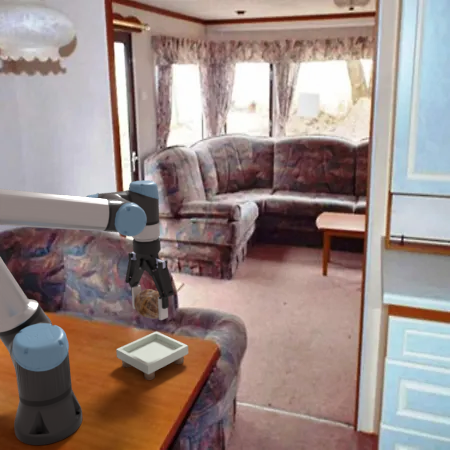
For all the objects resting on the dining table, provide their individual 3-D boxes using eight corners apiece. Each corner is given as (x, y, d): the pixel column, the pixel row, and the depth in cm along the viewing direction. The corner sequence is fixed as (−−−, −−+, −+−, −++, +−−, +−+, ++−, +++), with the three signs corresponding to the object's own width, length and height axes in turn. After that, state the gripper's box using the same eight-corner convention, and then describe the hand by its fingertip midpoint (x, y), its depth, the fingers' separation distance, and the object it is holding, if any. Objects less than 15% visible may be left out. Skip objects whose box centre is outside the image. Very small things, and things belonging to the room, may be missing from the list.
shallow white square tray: (148, 382, 136) (147, 365, 134) (117, 365, 145) (116, 349, 143) (188, 361, 146) (188, 345, 145) (157, 346, 155) (156, 331, 154)
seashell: (180, 307, 144) (167, 285, 138) (162, 333, 139) (148, 310, 133) (153, 299, 150) (139, 277, 144) (136, 323, 145) (120, 302, 139)
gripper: (185, 242, 131) (188, 319, 137) (130, 228, 146) (134, 298, 152) (164, 248, 126) (167, 329, 131) (109, 233, 141) (114, 306, 146)
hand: (150, 312), depth 142 cm, fingers closed on seashell, 11 cm apart
